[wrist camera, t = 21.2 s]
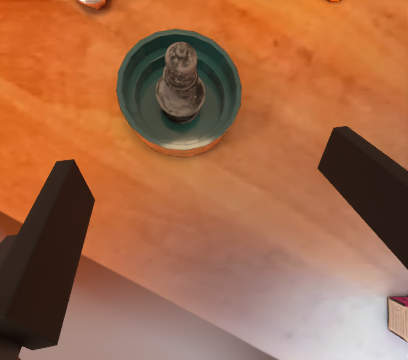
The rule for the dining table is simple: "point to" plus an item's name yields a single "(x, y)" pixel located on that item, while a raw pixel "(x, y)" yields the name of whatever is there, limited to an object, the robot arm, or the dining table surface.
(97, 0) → the screw
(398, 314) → the candy bar box
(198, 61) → the bowl
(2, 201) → the dining table surface
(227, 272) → the dining table surface
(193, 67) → the salt shaker
